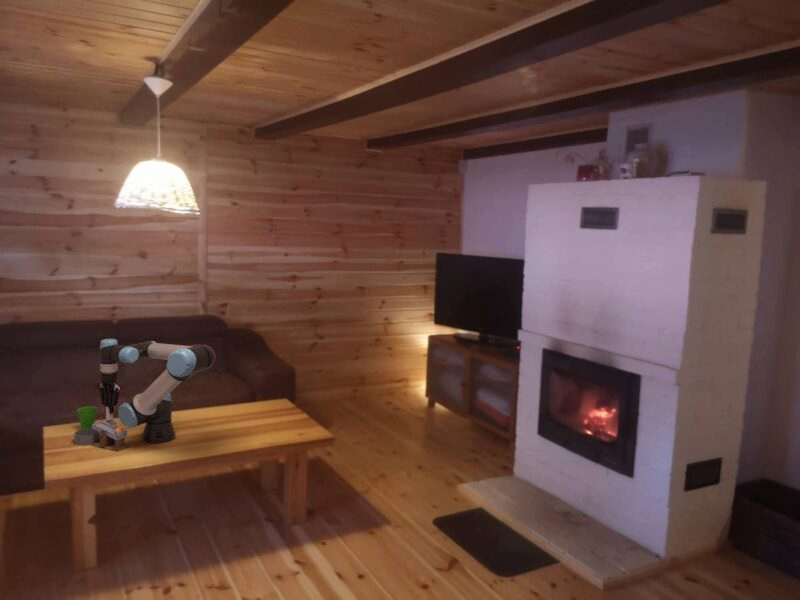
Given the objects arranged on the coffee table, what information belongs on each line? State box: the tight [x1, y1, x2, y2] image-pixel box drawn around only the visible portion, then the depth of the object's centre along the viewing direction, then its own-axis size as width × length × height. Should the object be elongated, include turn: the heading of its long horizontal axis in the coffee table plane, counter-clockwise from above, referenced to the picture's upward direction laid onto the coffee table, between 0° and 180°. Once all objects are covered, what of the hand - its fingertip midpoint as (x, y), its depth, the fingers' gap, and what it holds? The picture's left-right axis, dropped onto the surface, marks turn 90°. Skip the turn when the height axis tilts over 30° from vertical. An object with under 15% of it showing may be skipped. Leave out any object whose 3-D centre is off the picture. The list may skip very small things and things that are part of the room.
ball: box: [115, 427, 124, 435], centre depth 293 cm, size 4×4×4 cm
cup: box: [76, 406, 98, 430], centre depth 315 cm, size 9×9×11 cm
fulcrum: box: [90, 425, 130, 453], centre depth 295 cm, size 16×9×9 cm, turn 68°
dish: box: [73, 428, 101, 446], centre depth 300 cm, size 11×11×4 cm
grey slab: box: [92, 419, 128, 441], centre depth 297 cm, size 16×12×3 cm
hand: (109, 419), depth 303 cm, fingers closed
